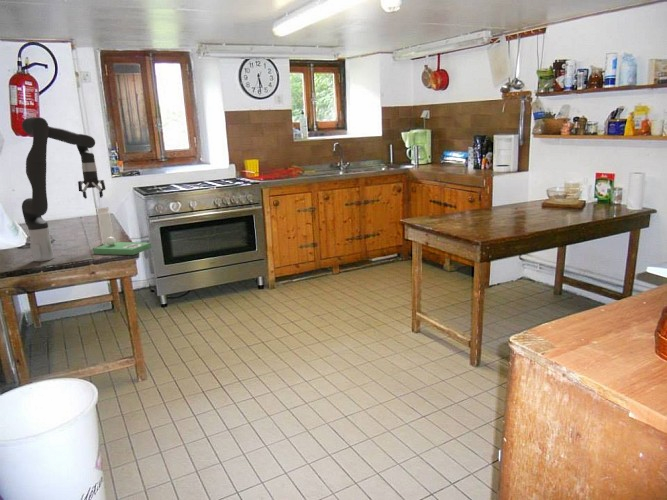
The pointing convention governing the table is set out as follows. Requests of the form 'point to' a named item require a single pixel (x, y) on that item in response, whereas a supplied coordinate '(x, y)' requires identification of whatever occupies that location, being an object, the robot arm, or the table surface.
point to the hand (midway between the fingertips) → (93, 198)
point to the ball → (111, 241)
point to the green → (122, 248)
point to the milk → (105, 224)
